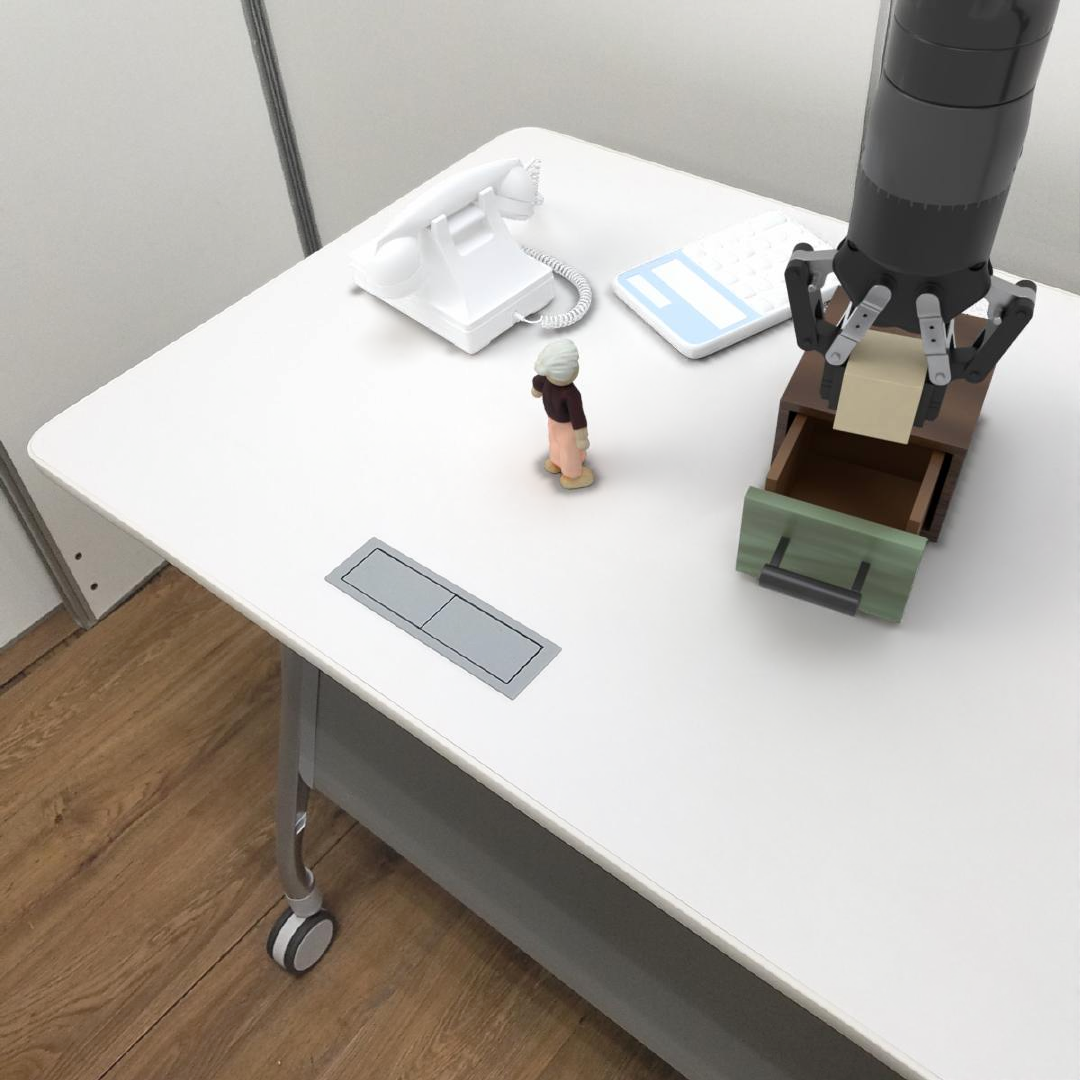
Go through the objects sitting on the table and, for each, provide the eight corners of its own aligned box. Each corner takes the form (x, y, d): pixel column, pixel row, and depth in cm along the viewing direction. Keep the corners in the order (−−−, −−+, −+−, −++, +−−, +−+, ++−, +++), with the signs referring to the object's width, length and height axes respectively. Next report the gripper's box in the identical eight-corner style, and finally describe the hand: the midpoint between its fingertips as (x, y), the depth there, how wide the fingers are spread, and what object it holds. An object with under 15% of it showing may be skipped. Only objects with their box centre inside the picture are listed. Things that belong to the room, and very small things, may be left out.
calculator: (866, 286, 102) (869, 268, 100) (690, 366, 96) (691, 348, 94) (774, 220, 109) (776, 203, 108) (606, 290, 103) (606, 273, 102)
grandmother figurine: (616, 479, 87) (615, 354, 78) (581, 504, 86) (576, 380, 76) (551, 432, 91) (543, 308, 82) (516, 455, 90) (504, 331, 80)
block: (918, 397, 69) (933, 341, 66) (907, 444, 67) (922, 388, 63) (846, 383, 71) (858, 327, 67) (832, 429, 68) (844, 373, 64)
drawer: (883, 671, 73) (906, 599, 67) (714, 614, 77) (722, 541, 71) (944, 492, 83) (969, 416, 77) (792, 450, 87) (804, 374, 81)
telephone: (505, 193, 115) (495, 78, 106) (656, 268, 105) (660, 148, 96) (319, 305, 104) (289, 188, 95) (468, 401, 94) (451, 280, 85)
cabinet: (936, 542, 81) (968, 449, 74) (766, 492, 85) (780, 399, 78) (978, 418, 89) (1010, 323, 82) (821, 377, 94) (838, 284, 86)
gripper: (781, 176, 55) (750, 425, 68) (1083, 221, 51) (989, 476, 64) (812, 105, 60) (777, 351, 73) (1092, 141, 56) (1002, 394, 69)
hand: (877, 408), depth 68 cm, fingers closed on block, 4 cm apart
